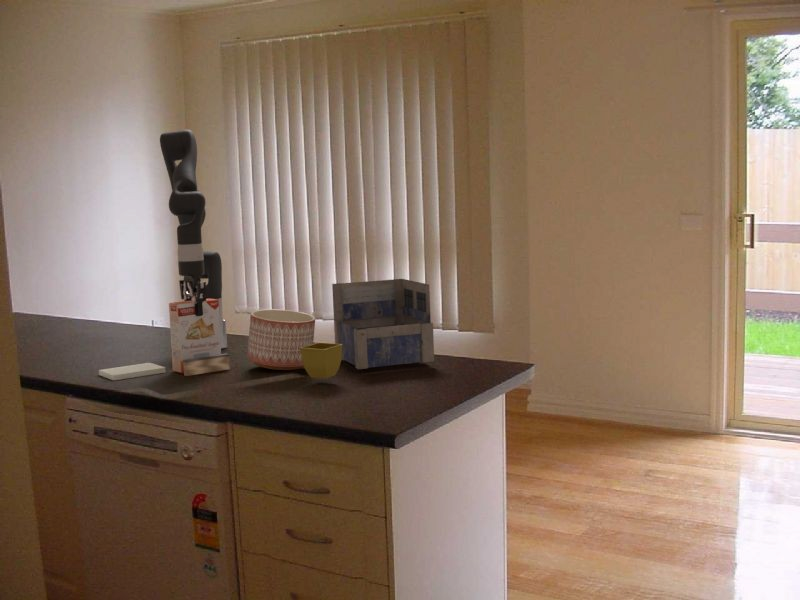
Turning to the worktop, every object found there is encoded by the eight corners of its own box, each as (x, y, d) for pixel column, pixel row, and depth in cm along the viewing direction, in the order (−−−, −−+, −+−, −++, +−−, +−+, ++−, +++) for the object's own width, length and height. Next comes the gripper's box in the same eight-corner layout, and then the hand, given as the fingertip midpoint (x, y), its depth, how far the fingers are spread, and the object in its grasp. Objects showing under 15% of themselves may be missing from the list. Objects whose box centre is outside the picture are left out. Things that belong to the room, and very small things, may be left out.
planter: (233, 360, 281) (237, 312, 279) (279, 353, 297) (283, 307, 294) (279, 374, 270) (283, 324, 268) (324, 366, 285) (328, 318, 283)
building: (434, 361, 284) (431, 284, 282) (358, 369, 276) (354, 290, 273) (406, 349, 306) (403, 278, 303) (335, 357, 298) (332, 283, 295)
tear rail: (227, 368, 285) (226, 353, 284) (229, 369, 284) (229, 354, 283) (184, 375, 277) (183, 359, 276) (186, 376, 275) (185, 360, 275)
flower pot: (326, 381, 260) (324, 349, 259) (300, 379, 264) (299, 347, 263) (344, 375, 267) (343, 344, 266) (319, 373, 272) (318, 342, 271)
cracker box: (182, 374, 278) (177, 303, 276) (172, 371, 283) (167, 302, 280) (223, 366, 288) (219, 298, 285) (213, 364, 292) (208, 297, 290)
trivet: (150, 367, 292) (149, 362, 292) (165, 372, 282) (165, 367, 282) (99, 374, 283) (98, 370, 282) (113, 380, 273) (112, 375, 273)
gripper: (213, 259, 278) (216, 315, 280) (192, 257, 289) (195, 311, 291) (189, 261, 273) (192, 318, 275) (169, 259, 285) (172, 314, 287)
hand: (194, 314), depth 283 cm, fingers closed on cracker box, 6 cm apart
